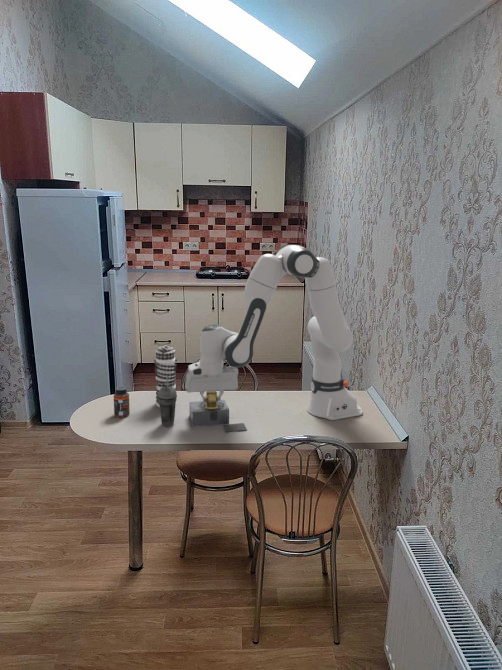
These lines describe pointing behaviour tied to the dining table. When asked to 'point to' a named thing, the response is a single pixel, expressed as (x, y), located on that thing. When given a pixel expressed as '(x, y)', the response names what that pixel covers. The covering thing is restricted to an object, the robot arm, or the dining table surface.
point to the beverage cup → (167, 404)
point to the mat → (234, 427)
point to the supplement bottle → (121, 402)
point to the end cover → (211, 400)
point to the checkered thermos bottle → (165, 368)
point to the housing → (208, 414)
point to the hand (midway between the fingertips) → (211, 401)
